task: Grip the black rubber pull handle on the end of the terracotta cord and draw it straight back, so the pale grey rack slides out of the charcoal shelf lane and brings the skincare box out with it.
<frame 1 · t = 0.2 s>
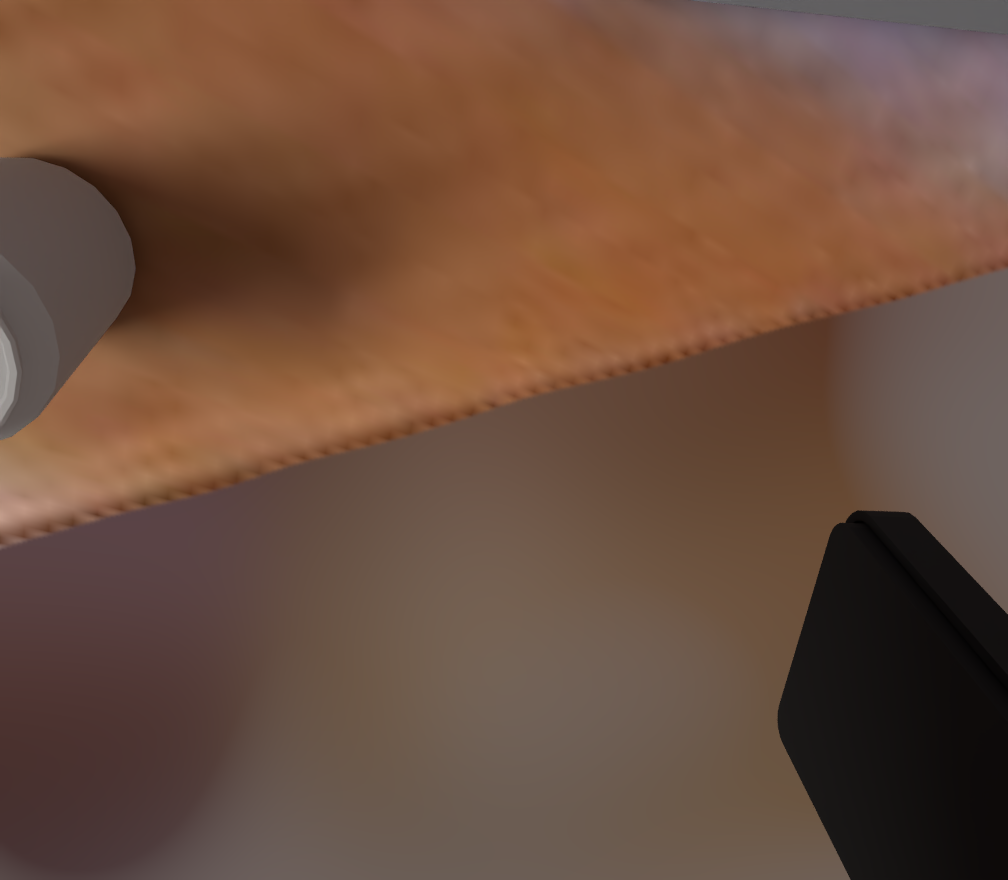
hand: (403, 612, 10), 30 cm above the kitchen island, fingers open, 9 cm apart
can: (45, 246, 37), on the kitchen island
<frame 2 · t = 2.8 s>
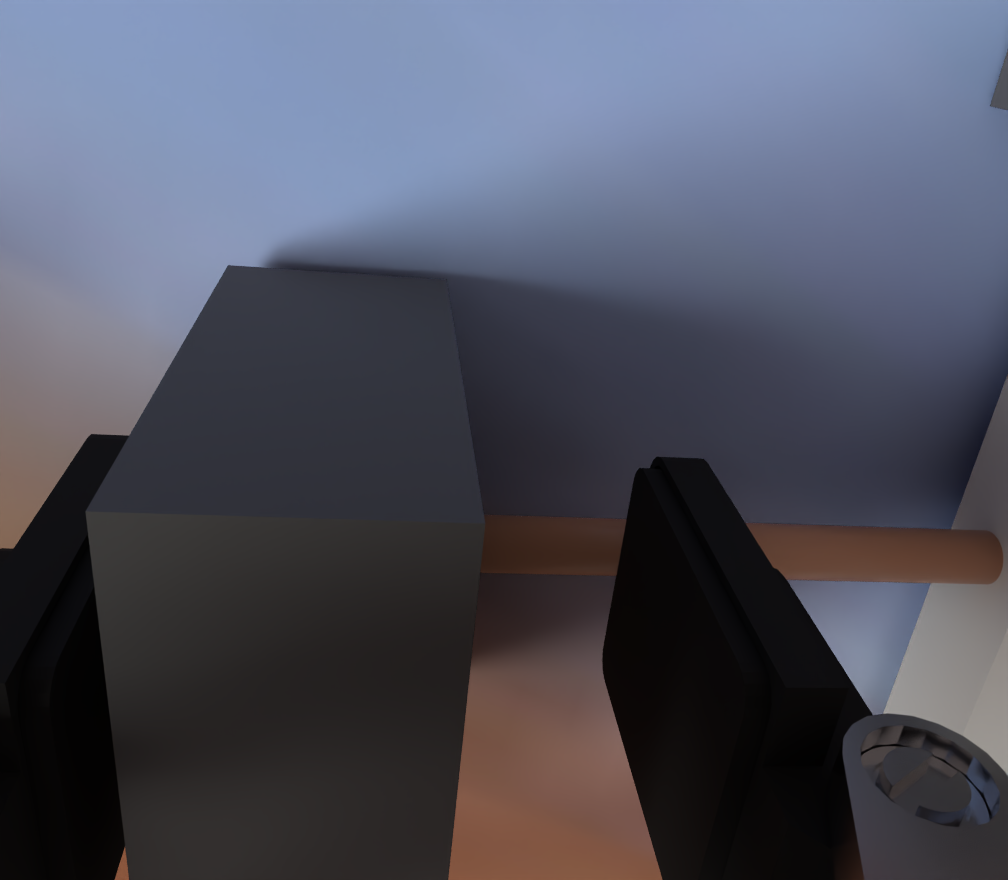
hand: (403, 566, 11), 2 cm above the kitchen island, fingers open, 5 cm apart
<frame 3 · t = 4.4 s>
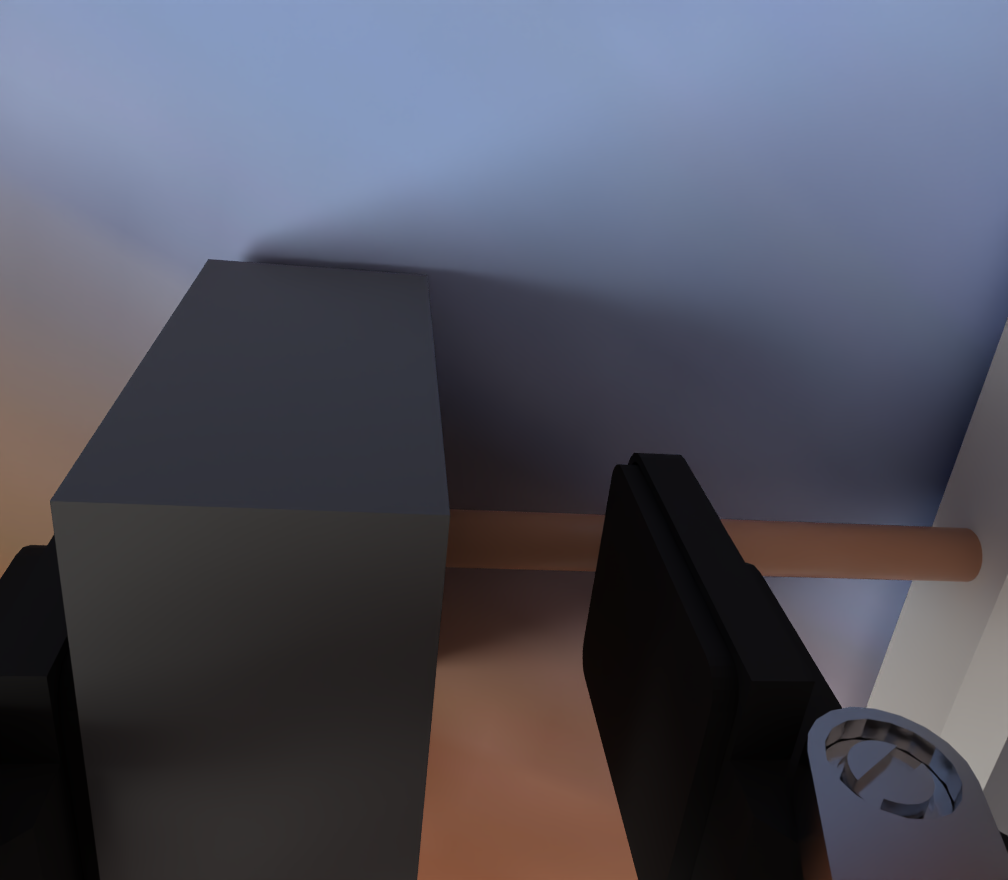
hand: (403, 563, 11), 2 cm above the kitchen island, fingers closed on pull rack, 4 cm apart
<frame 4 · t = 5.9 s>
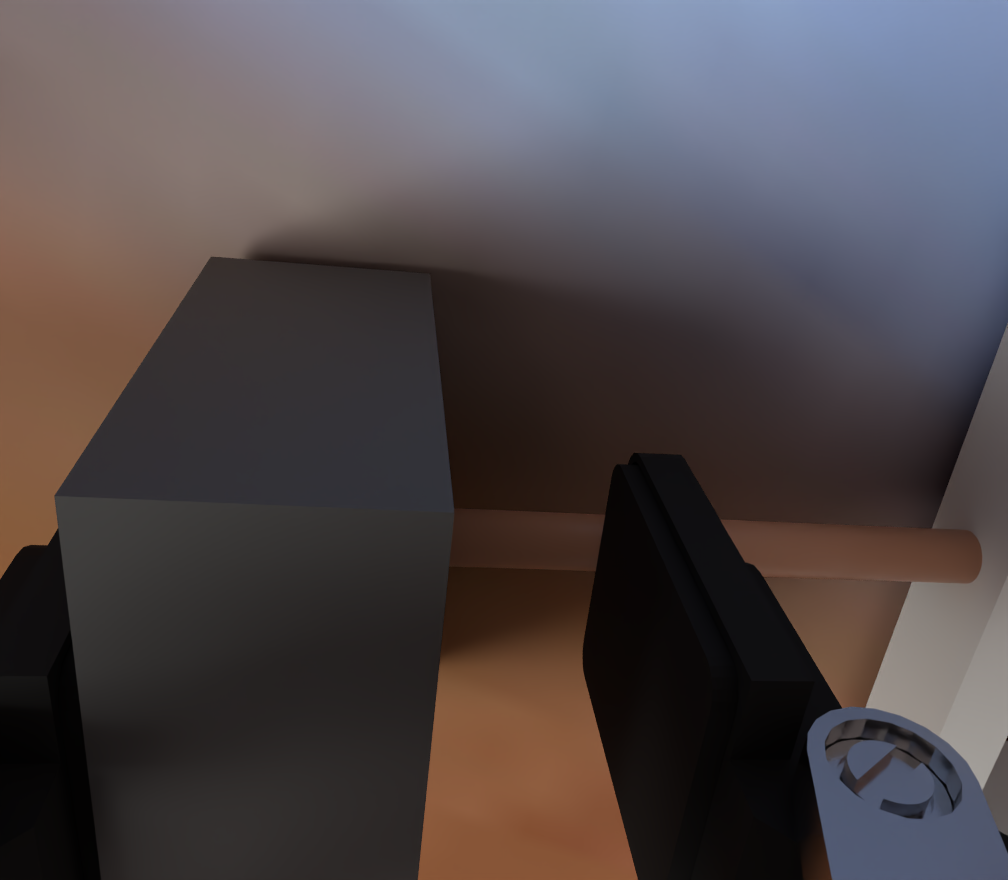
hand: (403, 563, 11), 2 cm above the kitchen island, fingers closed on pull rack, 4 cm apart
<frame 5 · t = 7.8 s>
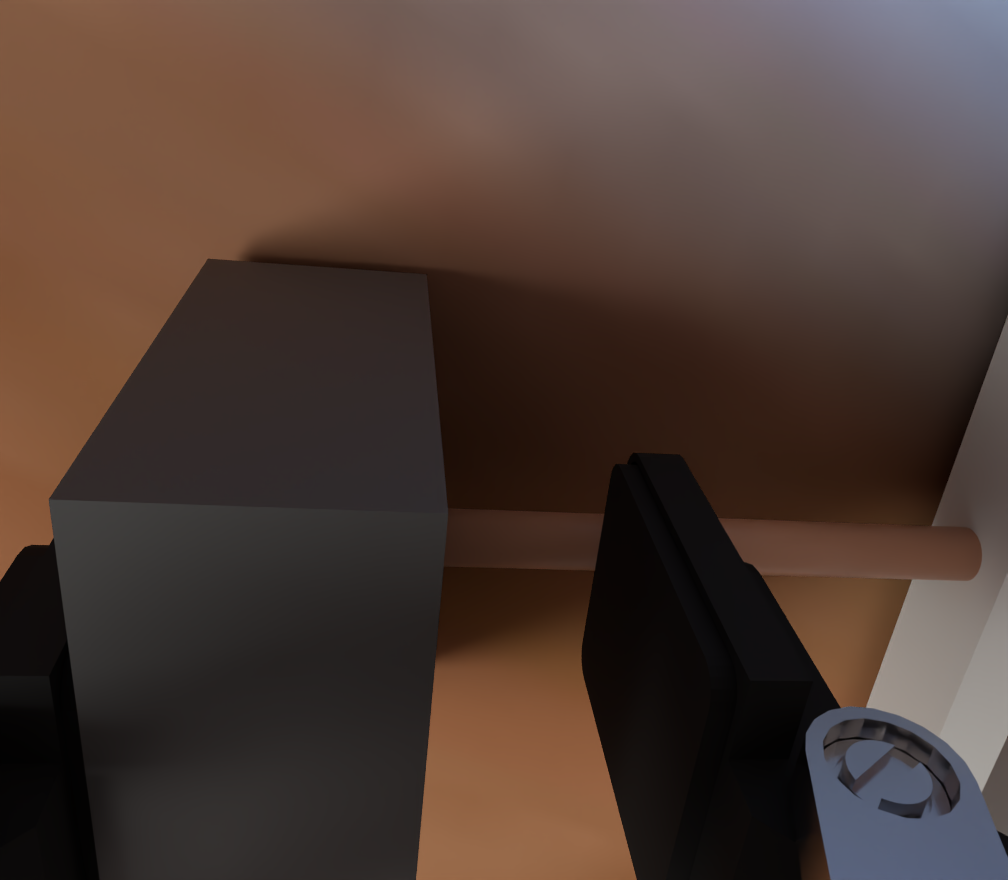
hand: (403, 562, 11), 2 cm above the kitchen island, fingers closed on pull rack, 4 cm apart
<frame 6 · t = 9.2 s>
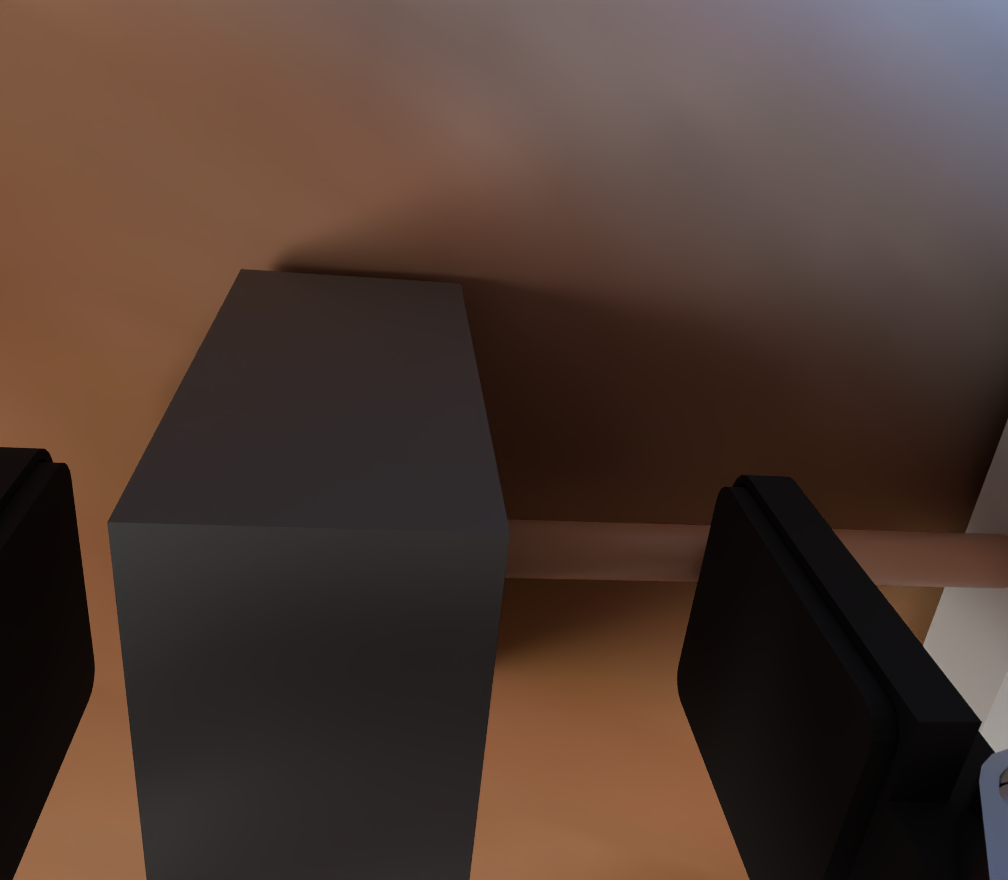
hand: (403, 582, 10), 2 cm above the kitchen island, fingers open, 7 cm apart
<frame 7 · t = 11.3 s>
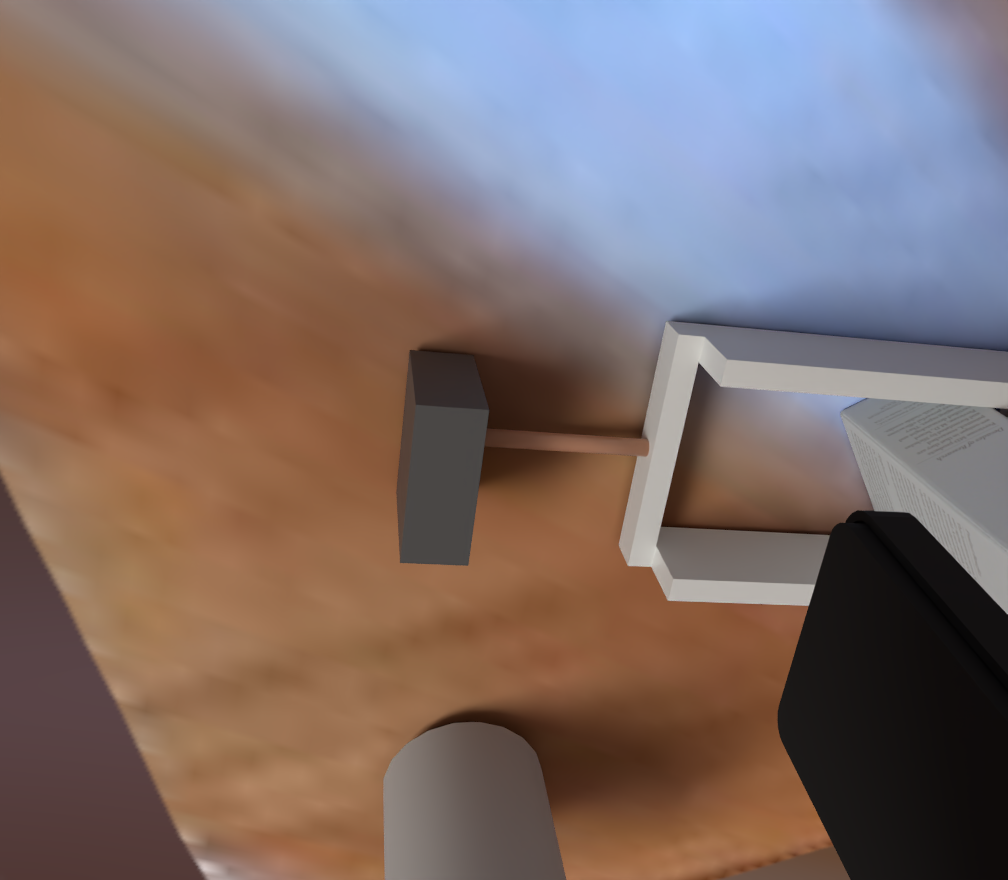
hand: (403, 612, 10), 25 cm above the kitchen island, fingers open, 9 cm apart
skincare box: (898, 440, 39), resting in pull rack
can: (461, 766, 44), on the kitchen island
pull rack: (746, 478, 35), point 3 cm above the kitchen island, slide at 17.7 cm
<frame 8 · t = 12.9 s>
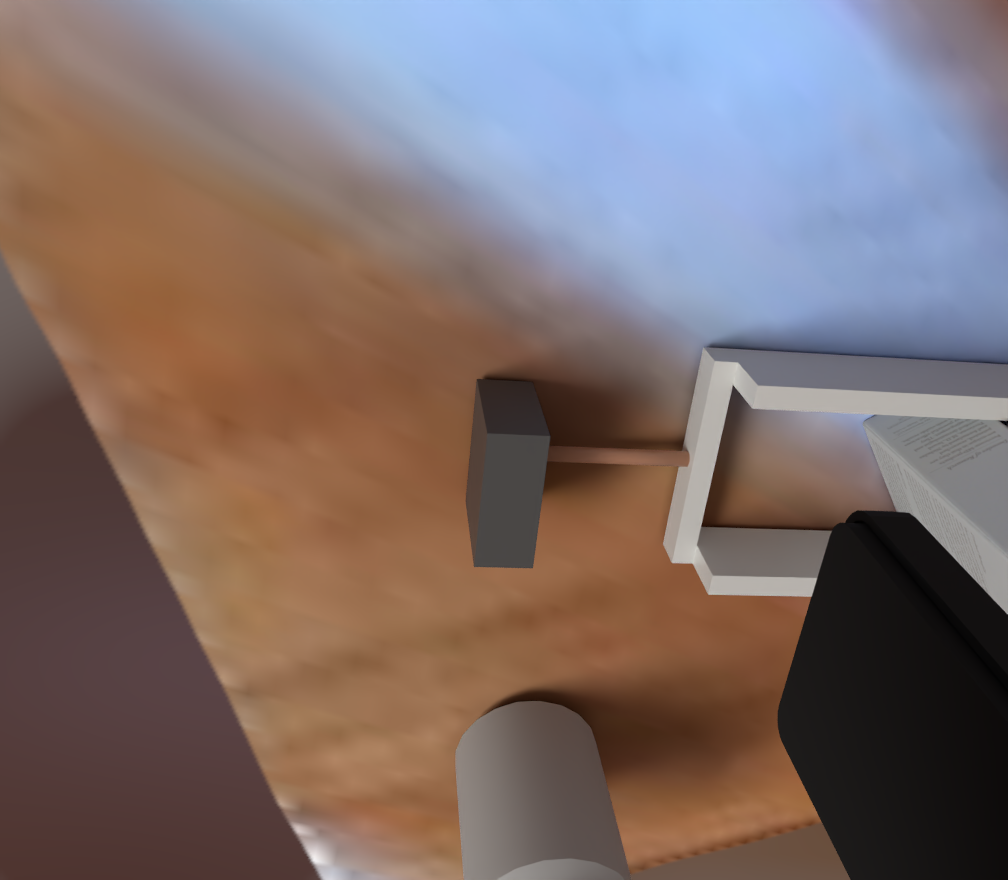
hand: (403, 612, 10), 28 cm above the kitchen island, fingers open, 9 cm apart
skincare box: (917, 445, 44), resting in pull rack
can: (523, 740, 49), on the kitchen island
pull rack: (776, 486, 40), point 3 cm above the kitchen island, slide at 17.7 cm
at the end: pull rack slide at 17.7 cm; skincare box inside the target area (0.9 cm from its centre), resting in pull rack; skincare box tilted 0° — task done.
